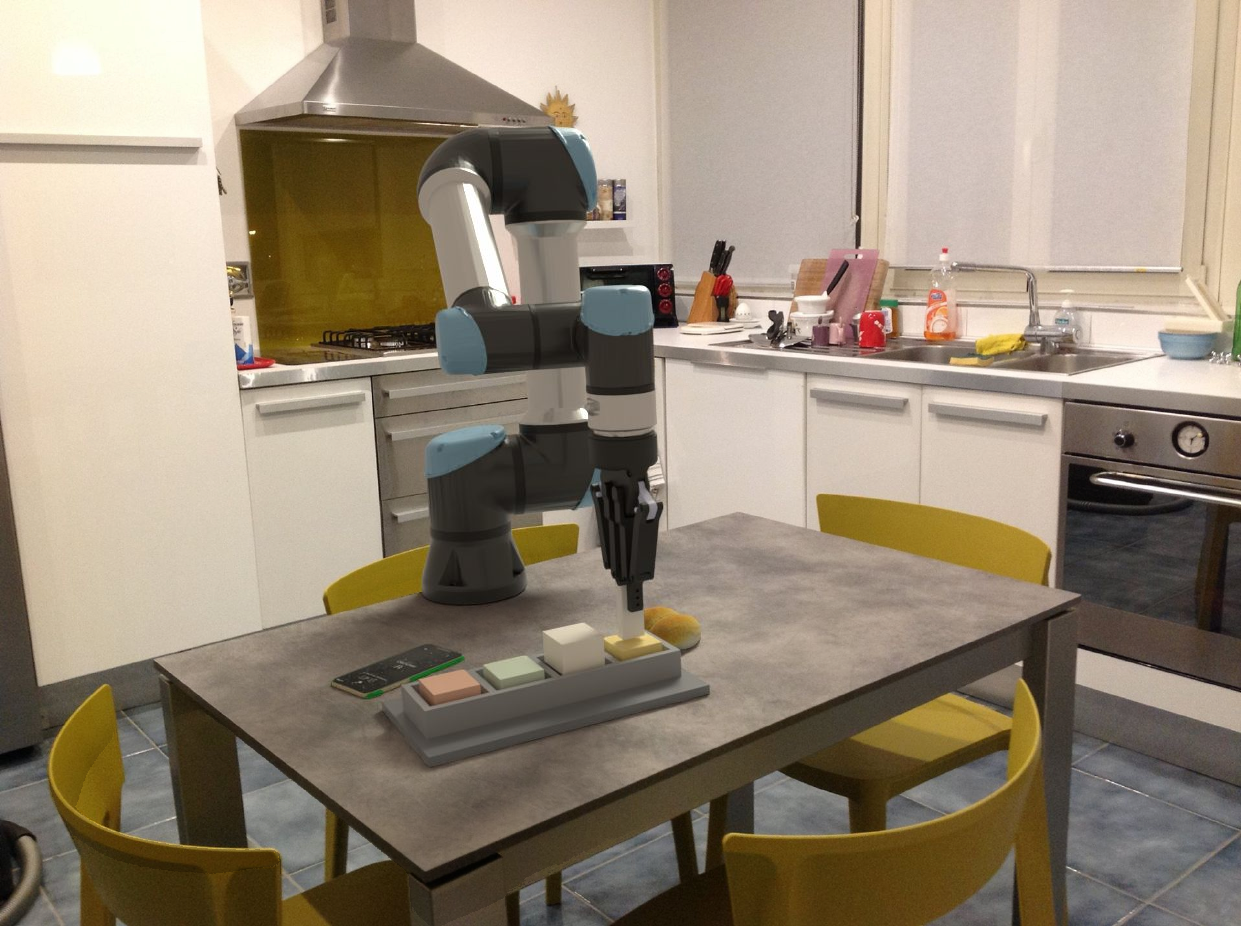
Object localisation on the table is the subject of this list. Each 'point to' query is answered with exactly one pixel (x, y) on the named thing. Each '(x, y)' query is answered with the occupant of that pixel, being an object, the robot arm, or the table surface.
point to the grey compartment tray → (540, 704)
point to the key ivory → (573, 648)
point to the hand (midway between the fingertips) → (631, 635)
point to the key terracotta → (448, 687)
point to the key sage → (512, 672)
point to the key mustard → (631, 646)
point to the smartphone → (397, 670)
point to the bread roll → (672, 627)
